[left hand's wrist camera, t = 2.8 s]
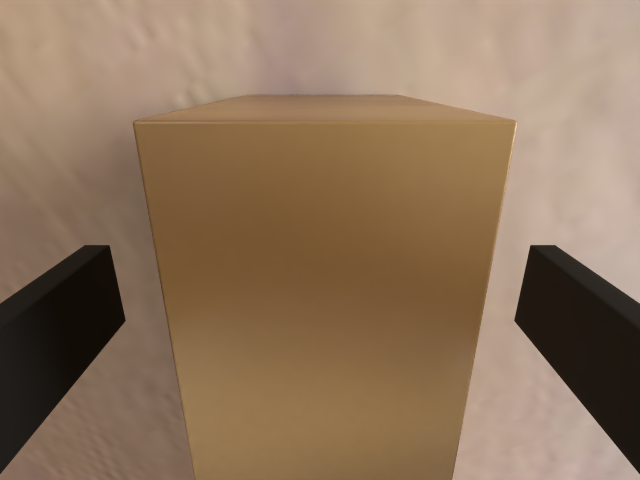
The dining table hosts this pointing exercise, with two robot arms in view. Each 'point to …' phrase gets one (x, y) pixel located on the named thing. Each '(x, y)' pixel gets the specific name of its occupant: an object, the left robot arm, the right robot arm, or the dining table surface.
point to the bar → (324, 278)
